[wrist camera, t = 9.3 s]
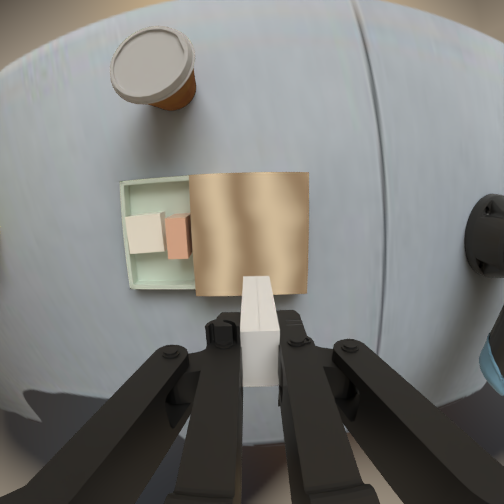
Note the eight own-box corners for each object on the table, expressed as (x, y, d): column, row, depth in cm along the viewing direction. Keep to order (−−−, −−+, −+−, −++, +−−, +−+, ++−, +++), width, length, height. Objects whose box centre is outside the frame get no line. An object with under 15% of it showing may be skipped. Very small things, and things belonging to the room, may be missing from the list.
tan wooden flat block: (301, 173, 39) (308, 172, 34) (300, 280, 42) (306, 293, 37) (196, 175, 39) (188, 175, 34) (201, 282, 42) (196, 296, 37)
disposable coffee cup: (202, 123, 37) (184, 101, 25) (136, 121, 36) (98, 103, 25) (212, 60, 35) (200, 21, 23) (148, 60, 34) (117, 26, 23)
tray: (193, 175, 39) (190, 175, 36) (199, 282, 42) (196, 289, 40) (126, 181, 38) (119, 181, 36) (136, 283, 42) (130, 289, 40)
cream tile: (124, 217, 37) (131, 214, 39) (130, 254, 38) (136, 249, 40) (159, 213, 37) (164, 211, 39) (164, 251, 38) (169, 246, 40)
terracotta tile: (185, 217, 34) (164, 218, 34) (188, 258, 36) (168, 259, 36) (192, 212, 39) (174, 213, 39) (194, 249, 40) (177, 249, 40)
